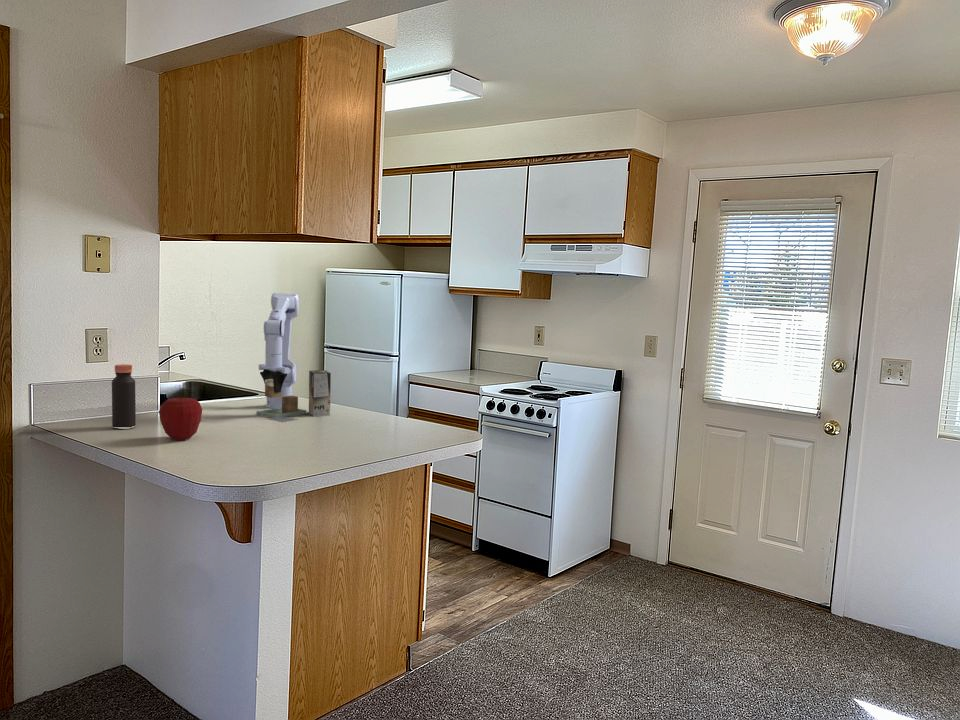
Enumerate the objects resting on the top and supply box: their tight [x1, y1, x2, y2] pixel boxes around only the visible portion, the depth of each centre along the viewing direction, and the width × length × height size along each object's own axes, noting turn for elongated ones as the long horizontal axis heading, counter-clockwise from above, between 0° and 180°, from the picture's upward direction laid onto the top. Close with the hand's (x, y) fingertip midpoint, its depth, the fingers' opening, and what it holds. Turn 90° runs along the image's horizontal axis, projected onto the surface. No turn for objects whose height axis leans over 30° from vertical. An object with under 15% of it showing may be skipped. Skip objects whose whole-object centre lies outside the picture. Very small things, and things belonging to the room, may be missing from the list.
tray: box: [256, 408, 307, 419], centre depth 265 cm, size 10×14×2 cm
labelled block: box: [264, 379, 281, 398], centre depth 261 cm, size 4×4×6 cm
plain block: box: [282, 395, 299, 413], centre depth 267 cm, size 4×4×6 cm
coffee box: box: [308, 369, 332, 417], centre depth 267 cm, size 9×6×16 cm
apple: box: [158, 396, 203, 441], centre depth 219 cm, size 12×12×13 cm
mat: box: [269, 416, 299, 423], centre depth 254 cm, size 7×7×1 cm
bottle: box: [111, 363, 137, 427], centre depth 232 cm, size 7×7×20 cm
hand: (273, 391), depth 261 cm, fingers closed on labelled block, 4 cm apart
